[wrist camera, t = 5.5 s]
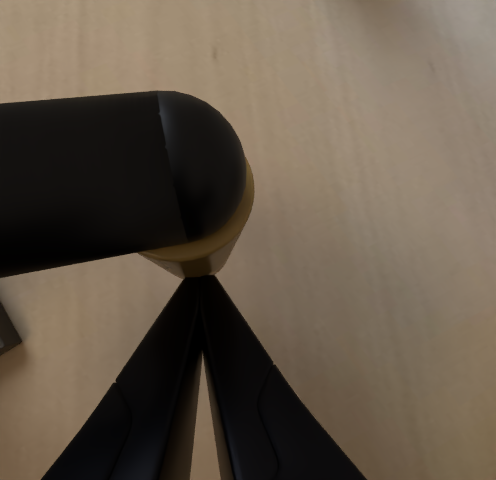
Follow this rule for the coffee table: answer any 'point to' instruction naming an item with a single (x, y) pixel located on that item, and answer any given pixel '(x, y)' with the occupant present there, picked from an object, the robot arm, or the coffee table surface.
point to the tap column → (7, 333)
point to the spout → (120, 182)
